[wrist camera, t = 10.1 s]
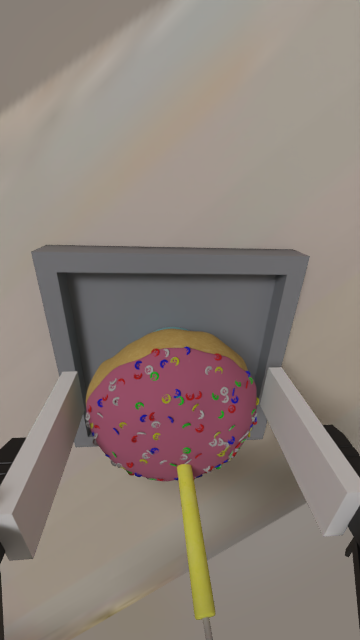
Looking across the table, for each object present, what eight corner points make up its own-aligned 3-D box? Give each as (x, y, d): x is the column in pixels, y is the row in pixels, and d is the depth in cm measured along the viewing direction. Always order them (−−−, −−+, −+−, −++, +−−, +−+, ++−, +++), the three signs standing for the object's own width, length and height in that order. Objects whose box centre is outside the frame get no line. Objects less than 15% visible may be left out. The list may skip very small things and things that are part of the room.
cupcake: (243, 384, 18) (361, 646, 8) (134, 417, 19) (109, 703, 8) (214, 277, 15) (374, 519, 4) (78, 324, 15) (-103, 643, 4)
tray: (82, 426, 20) (75, 447, 18) (46, 245, 14) (31, 251, 12) (254, 420, 21) (262, 439, 19) (293, 249, 15) (309, 256, 13)
